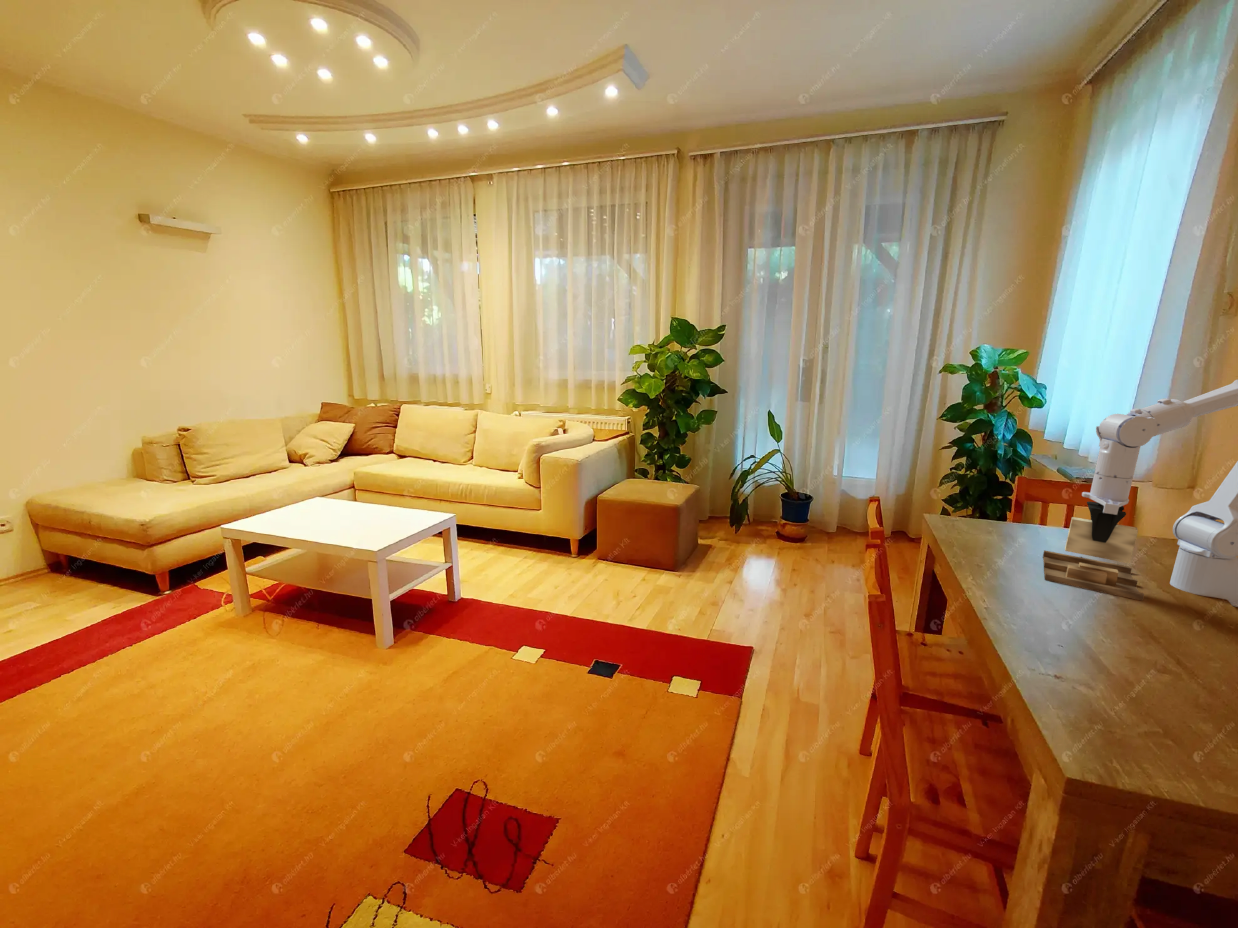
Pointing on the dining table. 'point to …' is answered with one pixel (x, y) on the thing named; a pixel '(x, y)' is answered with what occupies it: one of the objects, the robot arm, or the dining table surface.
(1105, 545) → the birch panel
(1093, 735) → the dining table surface
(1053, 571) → the walnut rack
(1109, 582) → the teak offcut
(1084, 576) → the teak offcut
